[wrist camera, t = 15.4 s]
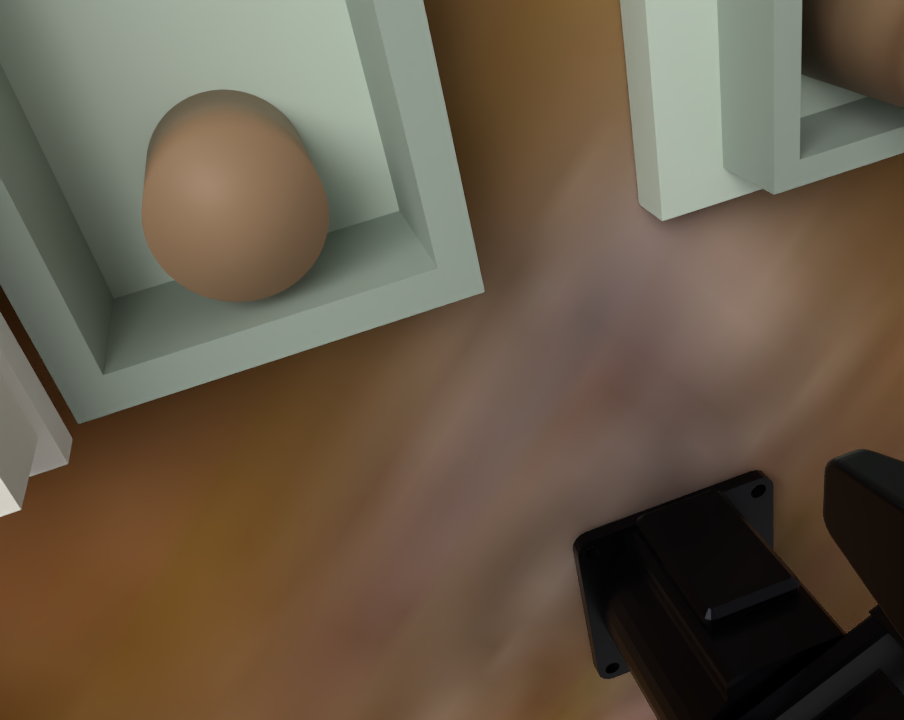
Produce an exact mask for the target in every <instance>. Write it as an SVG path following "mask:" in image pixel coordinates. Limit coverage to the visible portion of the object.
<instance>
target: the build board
mask: <svg viewBox="0 0 904 720" xmlns="http://www.w3.org/2000/svg"><path fill="white" fill-rule="evenodd" d="M620 7H621V17H622V28H623V39H624V49H625V60H626V71H627V81H628V92H629V103H630V113H631V124H632V135H633V145H634V156H635V167H636V177H637V188H638V199H639V205H640V206H642V207H643V208H645V209H646V210H647V211H649V212H650V213H652V214H653V215H654V216H656V217H657V218H659V219H660V220H661V221H665V220H668V219H671V218H674V217H677V216H680V215H683V214H687V213H690V212H693V211H696V210H699V209H702V208H705V207H708V206H711V205H714V204H718V203H721V202H724V201H727V200H730V199H733V198H736V197H739V196H742V195H745V194H748V193H752V192H755V191H758V190H761V189H764V190H766V191H768V192H770V193H771V194H773V195H775V194H778V193H781V192H784V191H787V190H791V189H794V188H797V187H800V186H803V185H806V184H809V183H812V182H815V181H818V180H821V179H824V178H827V177H831V176H834V175H837V174H840V173H843V172H846V171H849V170H852V169H855V168H858V167H861V166H864V165H868V164H871V163H874V162H877V161H880V160H883V159H886V158H889V157H892V156H895V155H898V154H901V153H904V108H901V107H898V106H895V105H892V104H889V103H886V102H883V101H880V100H877V99H874V98H871V97H868V96H865V95H862V94H859V93H856V92H853V91H850V90H847V89H844V88H840V87H837V86H834V85H831V84H828V83H825V82H822V81H819V80H816V79H813V78H810V77H807V76H804V75H802V74H801V48H802V0H620Z"/></svg>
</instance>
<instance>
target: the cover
mask: <svg viewBox="0 0 904 720" xmlns="http://www.w3.org/2000/svg"><path fill="white" fill-rule="evenodd" d="M72 440H73V438H72V437H71V435H70V433H69V431H68V430H67V428H66V426H65V424H64V423H63V421H62V419H61V417H60V416H59V414H58V412H57V410H56V409H55V407H54V405H53V403H52V402H51V400H50V398H49V396H48V395H47V393H46V391H45V389H44V388H43V386H42V384H41V382H40V381H39V379H38V377H37V375H36V374H35V372H34V370H33V368H32V367H31V365H30V363H29V361H28V360H27V358H26V356H25V354H24V353H23V351H22V349H21V347H20V346H19V344H18V342H17V340H16V339H15V337H14V335H13V333H12V332H11V330H10V328H9V326H8V325H7V323H6V321H5V319H4V318H3V316H2V314H1V312H0V517H1V516H4V515H7V514H10V513H13V512H16V511H19V510H21V508H22V504H23V500H24V496H25V492H26V488H27V483H28V479H29V477H31V476H34V475H37V474H40V473H43V472H46V471H49V470H52V469H55V468H58V467H61V466H64V465H67V464H68V463H69V457H70V451H71V446H72Z"/></svg>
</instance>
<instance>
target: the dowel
mask: <svg viewBox="0 0 904 720" xmlns="http://www.w3.org/2000/svg"><path fill="white" fill-rule="evenodd" d="M801 74H802V75H804V76H807V77H810V78H813V79H816V80H819V81H822V82H825V83H828V84H831V85H834V86H837V87H840V88H844V89H847V90H850V91H853V92H856V93H859V94H862V95H865V96H868V97H871V98H874V99H877V100H880V101H883V102H886V103H889V104H892V105H895V106H898V107H901V108H904V0H802V48H801Z"/></svg>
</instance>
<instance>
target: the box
mask: <svg viewBox="0 0 904 720" xmlns="http://www.w3.org/2000/svg"><path fill="white" fill-rule="evenodd" d="M0 285H1V287H2V289H3V291H4V292H5V294H6V296H7V298H8V300H9V301H10V303H11V305H12V307H13V308H14V310H15V312H16V314H17V316H18V317H19V319H20V321H21V323H22V325H23V326H24V328H25V330H26V332H27V334H28V335H29V337H30V339H31V341H32V342H33V344H34V346H35V348H36V350H37V351H38V353H39V355H40V357H41V359H42V360H43V362H44V364H45V366H46V367H47V369H48V371H49V373H50V375H51V376H52V378H53V380H54V382H55V384H56V385H57V387H58V389H59V391H60V393H61V394H62V396H63V398H64V400H65V401H66V403H67V405H68V407H69V409H70V410H71V412H72V414H73V416H74V418H75V419H76V421H77V423H78V424H81V423H84V422H87V421H90V420H93V419H96V418H99V417H102V416H105V415H108V414H111V413H115V412H118V411H121V410H124V409H127V408H130V407H133V406H136V405H139V404H142V403H145V402H148V401H151V400H154V399H158V398H161V397H164V396H167V395H170V394H173V393H176V392H179V391H182V390H185V389H188V388H191V387H194V386H198V385H201V384H204V383H207V382H210V381H213V380H216V379H219V378H222V377H225V376H228V375H231V374H234V373H237V372H241V371H244V370H247V369H250V368H253V367H256V366H259V365H262V364H265V363H268V362H271V361H274V360H277V359H281V358H284V357H287V356H290V355H293V354H296V353H299V352H302V351H305V350H308V349H311V348H314V347H317V346H320V345H324V344H327V343H330V342H333V341H336V340H339V339H342V338H345V337H348V336H351V335H354V334H357V333H360V332H364V331H367V330H370V329H373V328H376V327H379V326H382V325H385V324H388V323H391V322H394V321H397V320H400V319H404V318H407V317H410V316H413V315H416V314H419V313H422V312H425V311H428V310H431V309H434V308H437V307H440V306H443V305H447V304H450V303H453V302H456V301H459V300H462V299H465V298H468V297H471V296H474V295H477V294H480V293H483V292H485V290H484V286H483V281H482V276H481V272H480V267H479V262H478V257H477V253H476V248H475V243H474V238H473V234H472V229H471V224H470V220H469V215H468V210H467V205H466V201H465V196H464V191H463V186H462V182H461V177H460V172H459V167H458V163H457V158H456V153H455V149H454V144H453V139H452V134H451V130H450V125H449V120H448V115H447V111H446V106H445V101H444V97H443V92H442V87H441V82H440V78H439V73H438V68H437V63H436V59H435V54H434V49H433V45H432V40H431V35H430V30H429V26H428V21H427V16H426V11H425V7H424V2H423V0H0Z"/></svg>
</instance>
